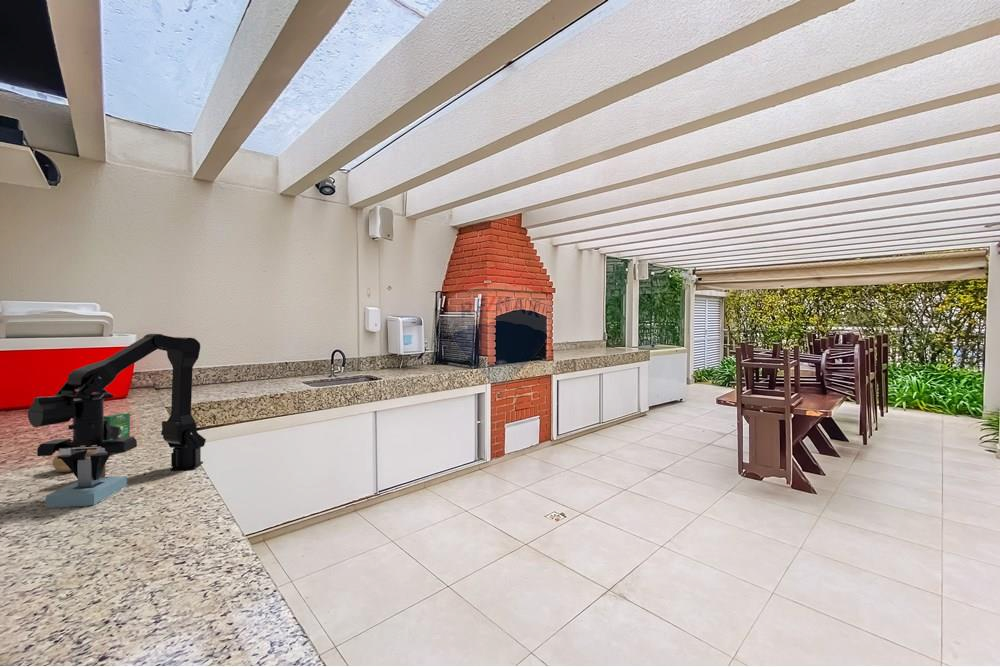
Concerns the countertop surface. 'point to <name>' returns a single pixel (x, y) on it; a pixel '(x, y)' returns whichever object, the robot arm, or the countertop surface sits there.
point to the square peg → (86, 474)
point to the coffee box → (119, 424)
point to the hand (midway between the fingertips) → (89, 479)
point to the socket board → (85, 493)
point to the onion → (60, 465)
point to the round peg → (91, 452)
